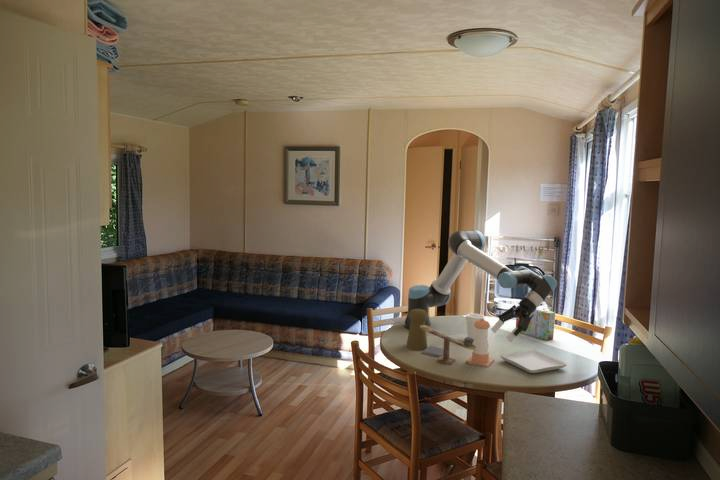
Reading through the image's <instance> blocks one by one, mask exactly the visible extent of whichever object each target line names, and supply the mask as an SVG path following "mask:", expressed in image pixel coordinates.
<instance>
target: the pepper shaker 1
mask: <svg viewBox="0 0 720 480" xmlns="http://www.w3.org/2000/svg"><path fill="white" fill-rule="evenodd" d="M409 319H410V320H411V322H410V328H409V329H408V335H407V341H406V348H407V350H410V351H411V350H412V351H417V352H418V351H419V352H422V351H423V350H425V349H426V348H428V341H427V332H426V331H423V330H422V329H420V326H421V325H425V321H426V320H427V312H426V311H425V310H423V309H412V310H411V311H410V312H409Z"/></svg>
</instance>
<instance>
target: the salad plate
mask: <svg viewBox="0 0 720 480" xmlns="http://www.w3.org/2000/svg"><path fill="white" fill-rule="evenodd" d="M499 357H500V358H501V359H502V360H503V361H505V362H507V363H508V364H511V365H513V366H515V367H517V368H518V369H521V370H523V371H525V372H527V373H530V374H536V373H537V374H538V373H543V372H549V371H556V370H561V369H564V368H565V367H567V365H568V364H567V363H565V362H563V361H561V360H559V359H556V358H554V357H553V356H550V355H548V354H545V353H543V352H540V351H538V350H536V349H531V350H522V351H517V352H516V351H515V352H510V353H503V354H500V355H499Z"/></svg>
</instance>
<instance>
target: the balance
mask: <svg viewBox="0 0 720 480" xmlns="http://www.w3.org/2000/svg"><path fill="white" fill-rule="evenodd" d="M420 329H422V330H423V331H426V333H429V334H432V335H433V336H436V337H438V338H440V339H443V349H444V350H443V356H440V357H437V358H436V362H438V363H442V364H446V365H453V364H454V363H455V362H456V358H453V357H450V344H451V343H453V344H454V345H458V346H459V347H463V348H465V349H468V350H470V351H473V350H475V348H476V347H475V346H474V341H473V340H474V339H472V338H469V337H468V336H466V337H465V338H464V340H463V342H462V341H460V340H458V339H455V338H452V337H450V336H447V335H446V334H443V333H440V332H438V331H435V330H434V329H433V327H432V326H431V327H429V326H426V325H421V326H420Z"/></svg>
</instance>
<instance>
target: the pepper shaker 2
mask: <svg viewBox="0 0 720 480" xmlns="http://www.w3.org/2000/svg"><path fill="white" fill-rule="evenodd" d="M490 324H491V323H490V322H489V321H487V320H485V318H484V319H481V320H477V321H475V323H474V326H475V327H476V332H475V340H474V341H473V345H474V346H475V347H476V348H475V350H472V352H471V353H472V355H471V356H472V360H474V361H476V362H488V358H490V357H489V340H488V339H489V338H488V335H489V333H488V332H489V329H490V327H491V325H490Z"/></svg>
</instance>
